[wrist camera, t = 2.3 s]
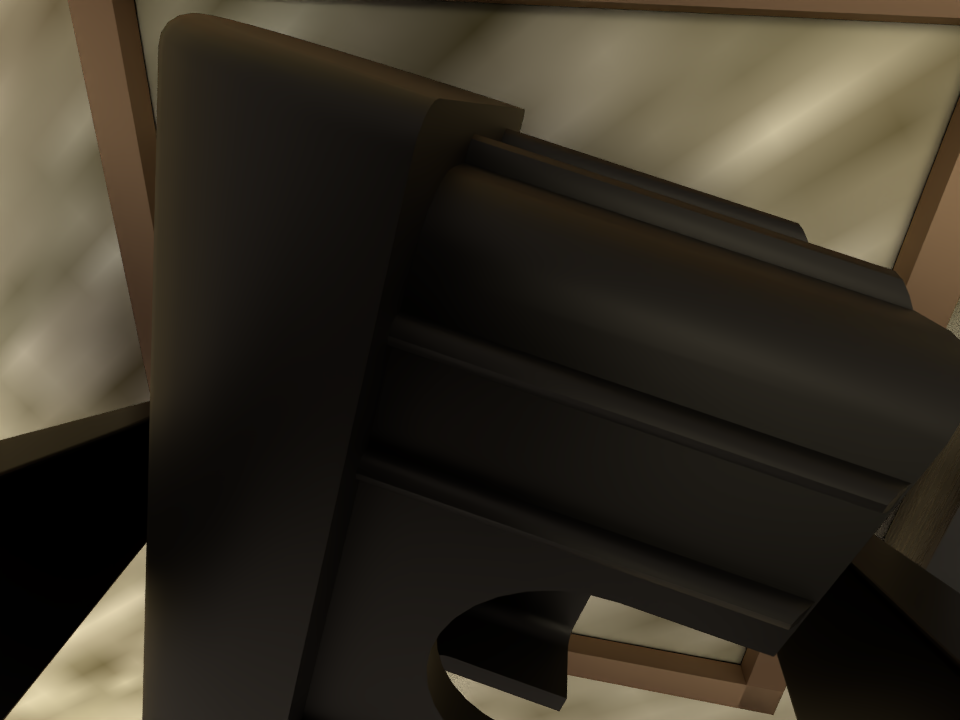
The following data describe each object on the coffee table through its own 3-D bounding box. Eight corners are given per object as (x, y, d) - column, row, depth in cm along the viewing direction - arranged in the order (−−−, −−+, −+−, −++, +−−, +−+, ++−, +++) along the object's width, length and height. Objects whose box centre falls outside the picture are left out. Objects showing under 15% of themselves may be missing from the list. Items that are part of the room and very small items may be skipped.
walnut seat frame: (767, 694, 13) (773, 714, 13) (205, 587, 15) (193, 601, 15) (1082, -43, 7) (1115, -53, 7) (77, -75, 9) (49, -85, 8)
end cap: (354, 53, 9) (-97, -73, 3) (765, 186, 9) (1165, 336, 3) (281, 501, 13) (33, 822, 7) (556, 599, 13) (536, 1011, 7)
